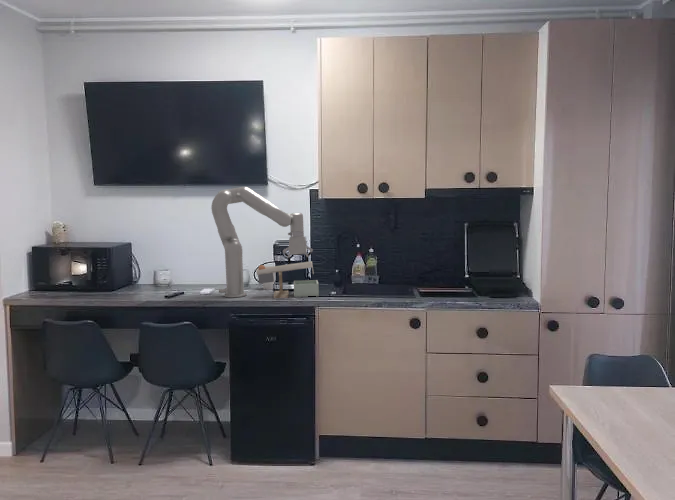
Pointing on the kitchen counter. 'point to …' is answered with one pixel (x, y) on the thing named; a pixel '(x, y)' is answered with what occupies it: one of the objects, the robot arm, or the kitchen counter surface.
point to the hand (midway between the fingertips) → (298, 264)
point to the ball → (261, 267)
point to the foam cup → (270, 284)
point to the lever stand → (281, 289)
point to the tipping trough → (267, 273)
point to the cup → (306, 288)
